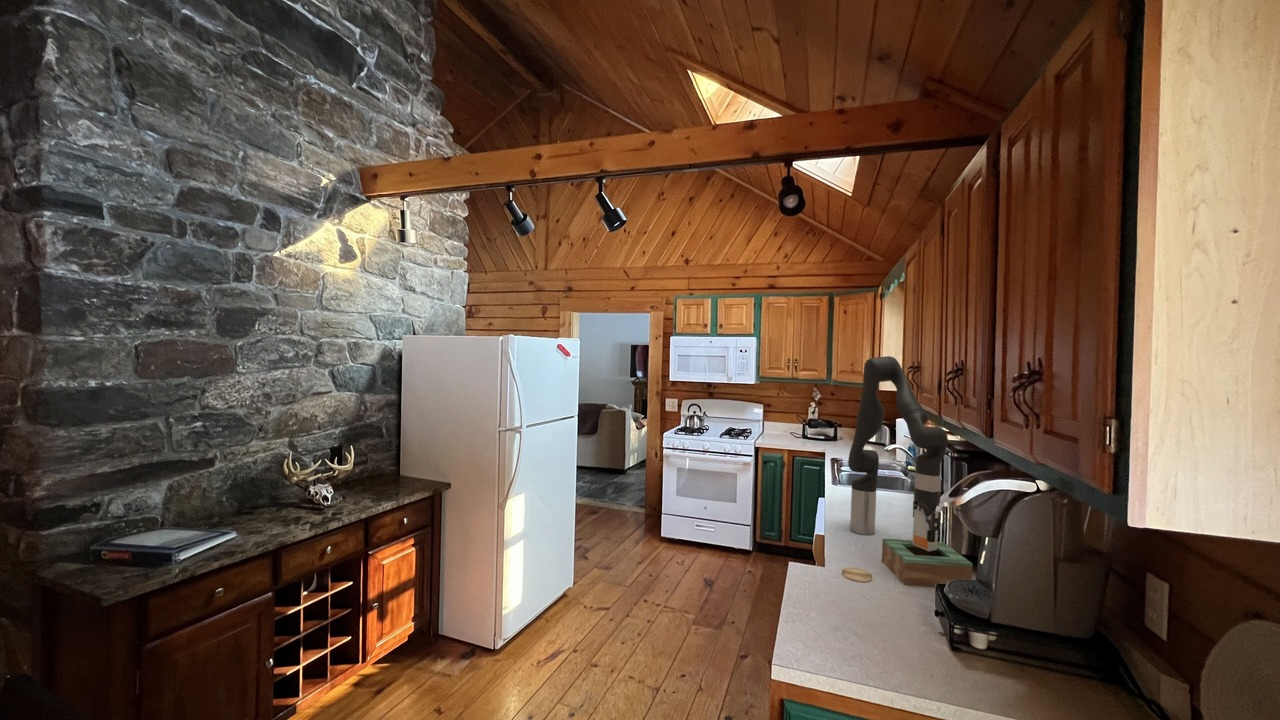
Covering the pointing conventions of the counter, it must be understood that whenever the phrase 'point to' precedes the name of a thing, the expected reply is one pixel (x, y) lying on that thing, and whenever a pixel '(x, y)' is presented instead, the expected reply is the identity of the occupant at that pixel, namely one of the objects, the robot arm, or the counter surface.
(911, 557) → the caddy
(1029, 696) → the counter surface
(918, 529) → the skincare box
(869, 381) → the robot arm
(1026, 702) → the counter surface
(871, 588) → the counter surface
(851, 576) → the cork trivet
